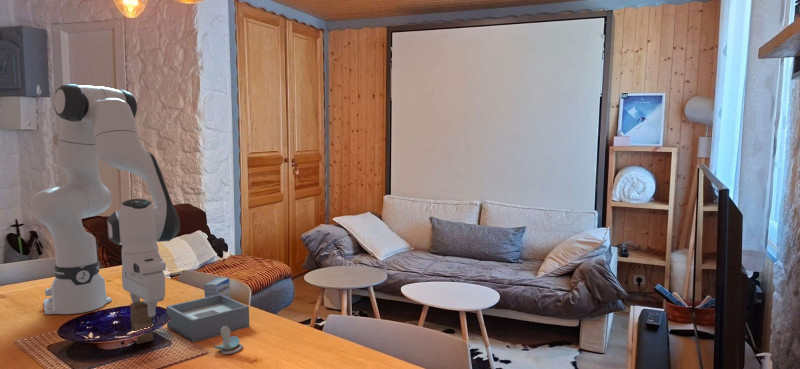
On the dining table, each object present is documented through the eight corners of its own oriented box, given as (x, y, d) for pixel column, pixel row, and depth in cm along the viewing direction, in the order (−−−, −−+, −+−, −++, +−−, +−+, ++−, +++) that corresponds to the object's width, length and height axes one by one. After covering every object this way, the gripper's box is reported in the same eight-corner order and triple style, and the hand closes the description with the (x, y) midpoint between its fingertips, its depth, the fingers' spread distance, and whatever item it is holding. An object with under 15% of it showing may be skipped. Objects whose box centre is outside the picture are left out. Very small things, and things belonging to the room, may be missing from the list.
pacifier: (248, 347, 143) (229, 343, 146) (248, 324, 143) (229, 320, 145) (229, 358, 137) (210, 353, 139) (229, 334, 136) (209, 330, 138)
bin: (167, 326, 158) (166, 306, 157) (221, 313, 169) (220, 294, 169) (192, 342, 146) (192, 320, 145) (249, 326, 157) (248, 306, 157)
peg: (132, 340, 148) (130, 303, 147) (147, 336, 150) (145, 300, 149) (137, 344, 145) (135, 307, 144) (153, 340, 148) (151, 303, 147)
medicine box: (217, 312, 170) (217, 284, 169) (204, 311, 171) (203, 284, 170) (230, 304, 178) (229, 278, 177) (218, 303, 179) (217, 277, 178)
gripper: (114, 257, 151) (117, 306, 152) (143, 269, 136) (146, 323, 138) (138, 253, 155) (141, 301, 156) (168, 264, 141) (171, 317, 142)
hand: (144, 312), depth 147 cm, fingers open, 8 cm apart
